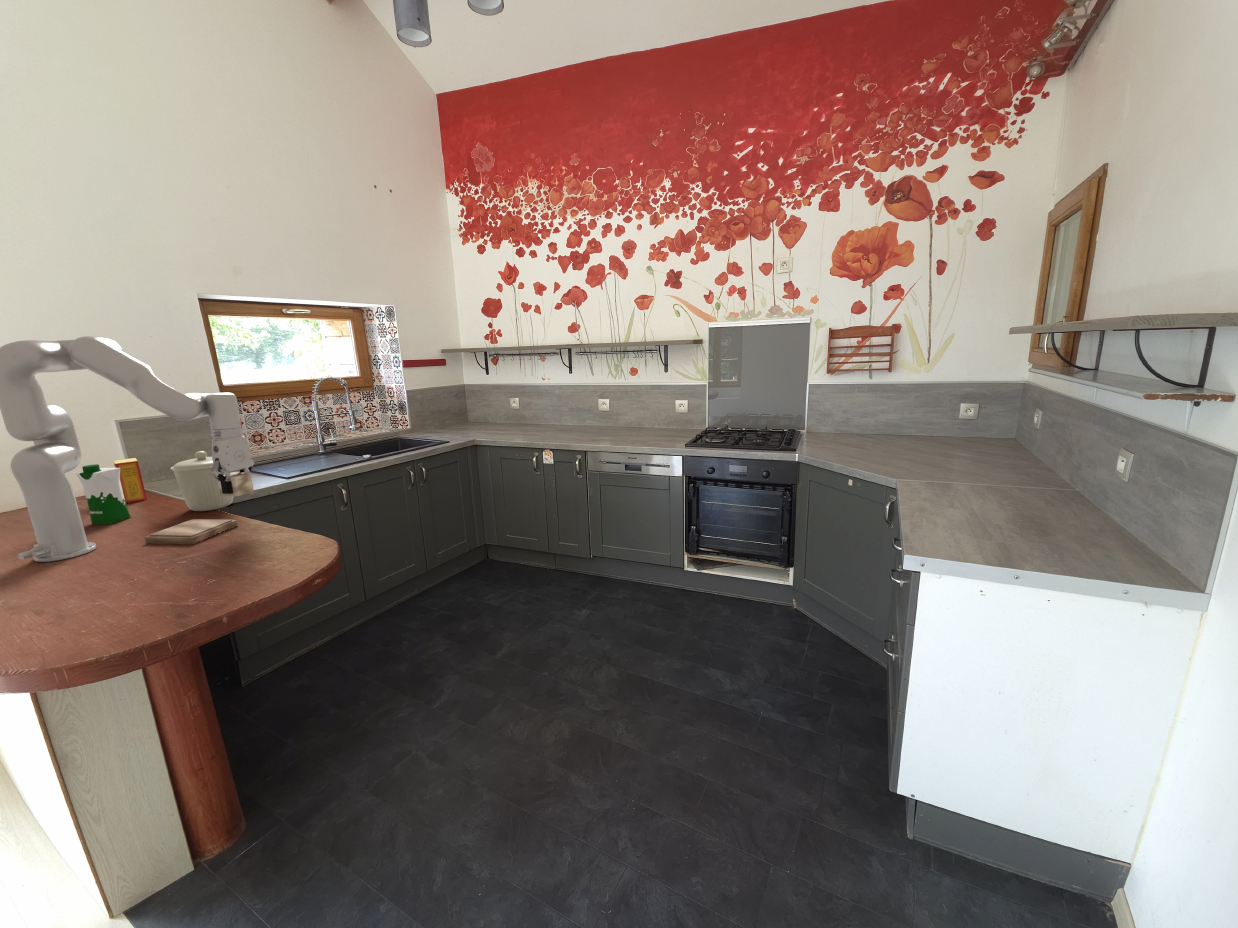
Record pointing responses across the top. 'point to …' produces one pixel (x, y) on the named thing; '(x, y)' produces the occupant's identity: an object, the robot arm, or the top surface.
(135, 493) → the baking soda box
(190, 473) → the canister
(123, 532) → the top surface
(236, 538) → the top surface
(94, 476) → the milk carton
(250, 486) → the cube
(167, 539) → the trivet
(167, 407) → the robot arm
